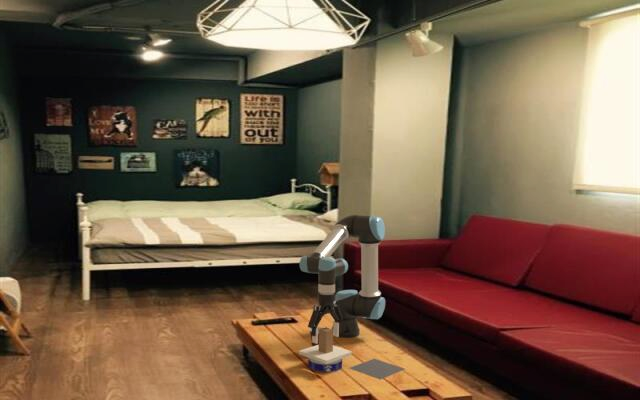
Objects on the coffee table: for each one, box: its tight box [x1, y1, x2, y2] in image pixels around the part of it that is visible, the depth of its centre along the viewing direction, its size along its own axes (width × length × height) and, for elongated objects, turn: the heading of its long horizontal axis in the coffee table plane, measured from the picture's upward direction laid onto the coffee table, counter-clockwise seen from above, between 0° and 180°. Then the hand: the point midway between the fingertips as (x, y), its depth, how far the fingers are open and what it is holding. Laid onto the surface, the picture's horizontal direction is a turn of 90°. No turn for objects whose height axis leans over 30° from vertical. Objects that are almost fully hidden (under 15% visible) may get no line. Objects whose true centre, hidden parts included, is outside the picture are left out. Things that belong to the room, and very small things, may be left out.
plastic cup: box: [308, 326, 324, 347], centre depth 277 cm, size 11×11×12 cm
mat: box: [349, 358, 406, 380], centre depth 258 cm, size 18×18×1 cm
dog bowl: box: [307, 357, 343, 373], centre depth 260 cm, size 15×15×6 cm
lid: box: [298, 326, 353, 364], centre depth 259 cm, size 17×17×12 cm
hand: (325, 339), depth 259 cm, fingers open, 13 cm apart
